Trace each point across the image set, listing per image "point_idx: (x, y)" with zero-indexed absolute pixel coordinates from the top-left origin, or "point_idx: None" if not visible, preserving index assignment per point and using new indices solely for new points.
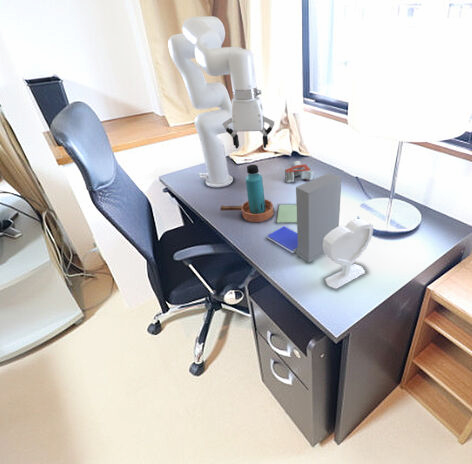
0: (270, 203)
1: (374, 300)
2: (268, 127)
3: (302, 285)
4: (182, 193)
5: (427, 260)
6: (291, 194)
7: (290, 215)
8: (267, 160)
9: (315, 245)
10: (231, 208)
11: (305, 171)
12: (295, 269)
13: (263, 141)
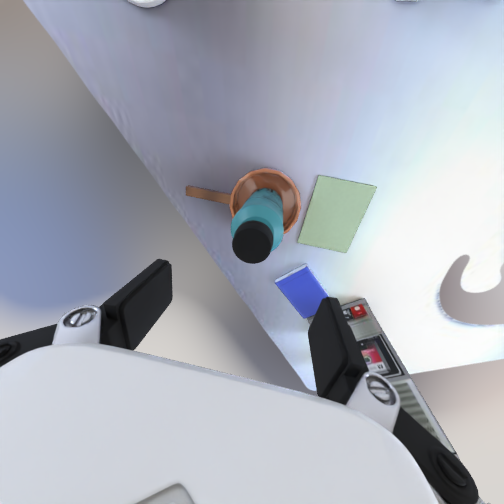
0: (296, 196)
1: None
2: (433, 478)
3: (299, 353)
4: (60, 41)
5: (467, 362)
6: (370, 113)
7: (330, 226)
8: None
9: None
10: (209, 199)
11: None
12: (298, 335)
13: (316, 368)
